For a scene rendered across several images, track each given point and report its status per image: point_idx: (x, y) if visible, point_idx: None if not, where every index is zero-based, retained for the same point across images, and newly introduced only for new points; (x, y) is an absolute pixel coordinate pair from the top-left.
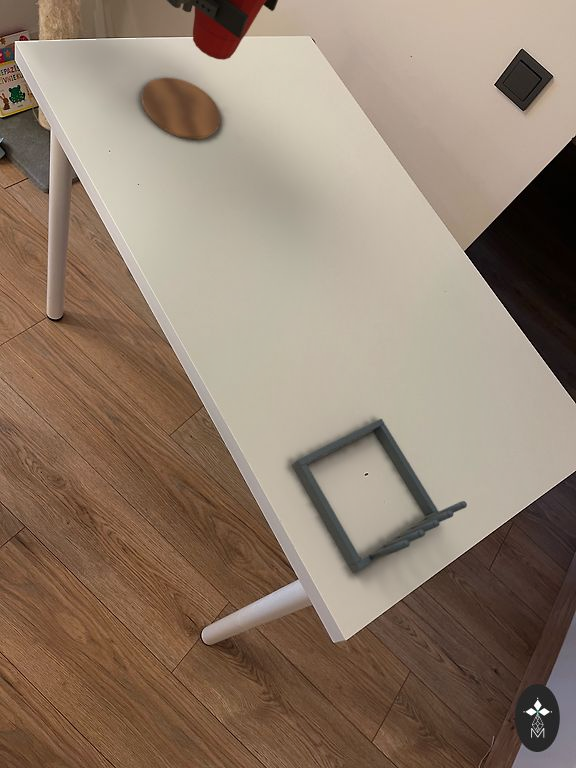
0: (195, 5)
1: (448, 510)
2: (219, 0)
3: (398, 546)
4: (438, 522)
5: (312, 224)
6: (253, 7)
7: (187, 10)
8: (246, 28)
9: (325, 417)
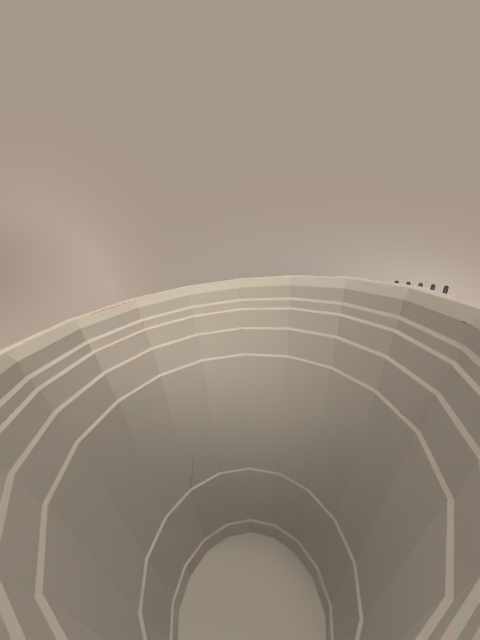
0: None
1: (408, 283)
2: None
3: (447, 291)
4: (420, 283)
5: None
6: (286, 359)
7: None
8: (257, 433)
9: None
